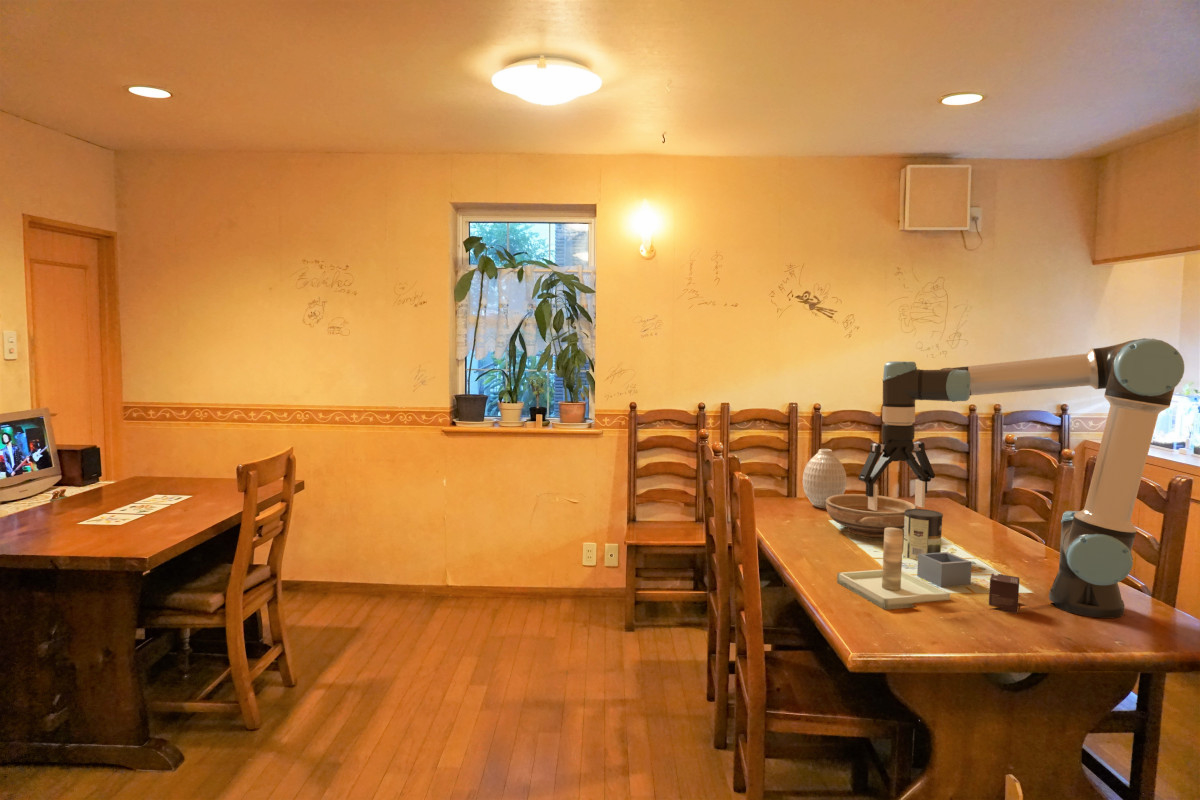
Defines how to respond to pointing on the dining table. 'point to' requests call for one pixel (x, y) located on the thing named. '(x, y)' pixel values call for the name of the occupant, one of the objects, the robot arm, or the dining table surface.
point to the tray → (872, 590)
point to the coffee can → (921, 532)
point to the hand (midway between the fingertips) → (896, 508)
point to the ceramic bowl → (867, 513)
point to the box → (1004, 592)
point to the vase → (823, 478)
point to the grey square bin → (944, 569)
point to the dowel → (892, 559)
